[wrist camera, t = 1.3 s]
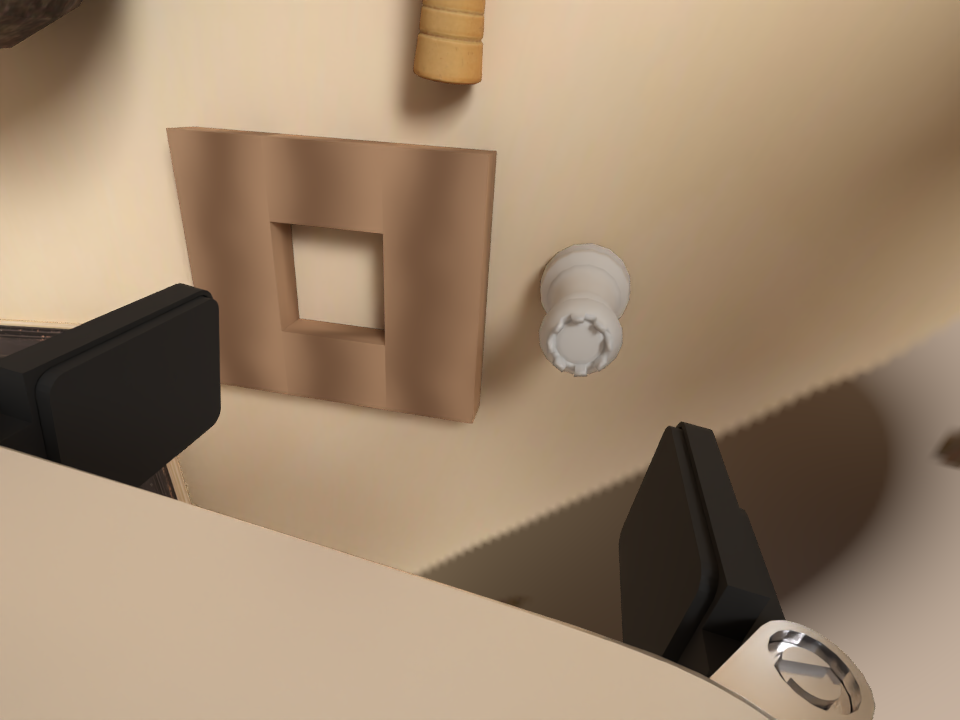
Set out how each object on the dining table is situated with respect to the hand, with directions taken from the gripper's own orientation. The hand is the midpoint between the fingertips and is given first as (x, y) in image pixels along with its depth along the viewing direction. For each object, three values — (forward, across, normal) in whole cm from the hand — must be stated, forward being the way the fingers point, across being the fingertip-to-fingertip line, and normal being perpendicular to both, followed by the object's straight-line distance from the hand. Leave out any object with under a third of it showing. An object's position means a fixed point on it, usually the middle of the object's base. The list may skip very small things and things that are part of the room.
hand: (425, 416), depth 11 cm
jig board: (+18, +9, +5) cm, 21 cm away
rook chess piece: (+18, -3, +2) cm, 19 cm away
